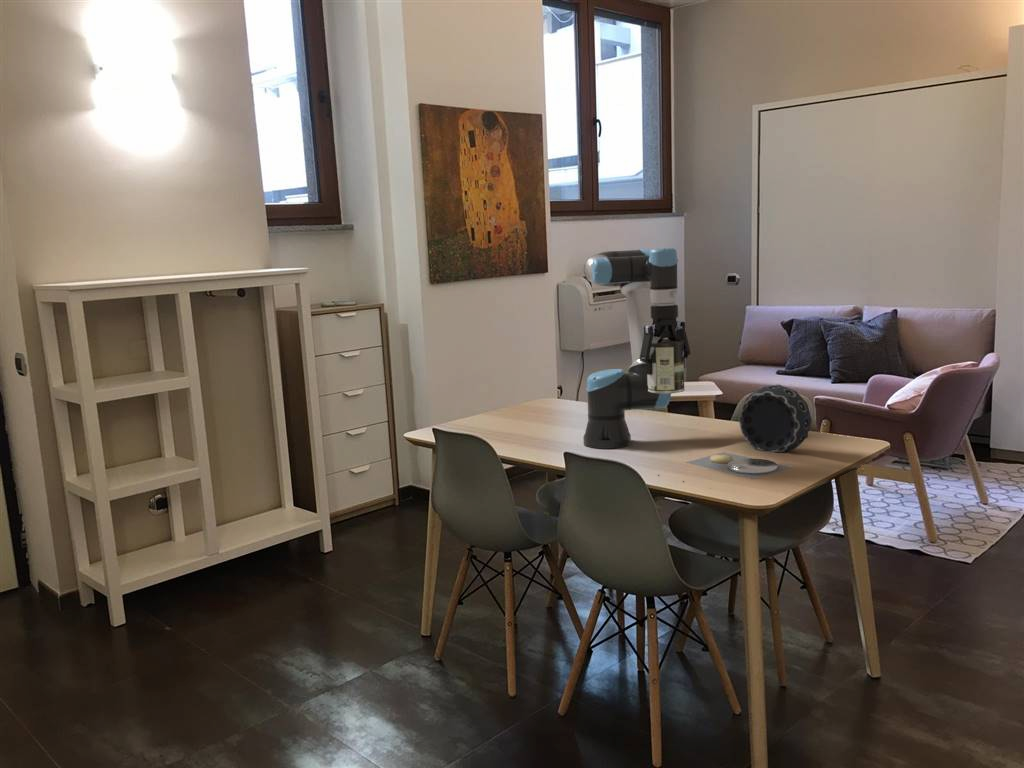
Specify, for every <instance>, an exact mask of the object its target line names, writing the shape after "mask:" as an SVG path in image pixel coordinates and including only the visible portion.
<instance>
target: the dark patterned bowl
mask: <svg viewBox="0 0 1024 768" xmlns="http://www.w3.org/2000/svg"><path fill="white" fill-rule="evenodd" d="M738 418H739V422H738V423H739V428H740V431H741V433H742V435H743V438H745V440H746V441H747V442H748V444H749V445H750V446H752V447H753V448H754V449H756V450H757V451H760V452H769V453H770V452H771V453H785V452H786V453H787V452H790V451H793V450H795V449H797V448H798V447H799V446H800V445H802V443H803V442H804V441H805V440H806V439H808V436H809V432H810V430H811V424H812V423H813V419H812V417H811V411H810V409H809V403H808V402H807V401H806V400H805V398H803V397H802V396H801V395H800V394H799V392H798V391H797V390H796V389H792V388H790V387H787V386H784V385H781V384H774V385H767V386H762V387H760V388H758V389H757V390H755V391H753V392H751V393H750V394H749V395H748V397H746V399H745V400H744V401H743V404H742V406H741V408H740V411H739V417H738Z"/></svg>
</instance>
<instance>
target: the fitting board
mask: <svg viewBox="0 0 1024 768" xmlns="http://www.w3.org/2000/svg"><path fill="white" fill-rule="evenodd" d="M749 458H750V457H747V456H743V455H738V454H734V453H730V452H725V451H723V452H719V453H716V454H713V455H709V456H704V457H700V458H697V459H693V460H689V461H685V463H686V464H690V465H694V466H699V467H702V468H706V469H711V470H714V471H719V472H722V473H727V474H732V475H735V476H738V477H739V476H740V477H743V478H747V479H753V480H755V479H759V478H761V477H765V476H768V475H769V476H770V475H773V474H775V473H779V472H782V471H785V470H789V469H792V468H793V467H792V466H789V465H785V464H779V463H776V464H777V471H775V472H772V473H768V474H760V475H750V474H740V473H735V472H732V471H730V470H729V469H728V463H729V462H730V461H733V460H738V459H749ZM751 458H752V459H754V458H753V457H751Z"/></svg>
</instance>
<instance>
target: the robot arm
mask: <svg viewBox="0 0 1024 768" xmlns="http://www.w3.org/2000/svg"><path fill="white" fill-rule="evenodd" d="M677 255H678V253H677V250H676V248H674V247H666V248H664V247H663V248H652V249H640V248H639V249H633V250H616V251H615V250H612V251H604V252H603V251H602V252H600V253H597V254H594V255H592V256H590V257H589V258H588V259H587V260H586V261H585V263H584V265H583V266H584V267H583V273H584V274H583V275H584V277H585V279H586V280H587V281H588V282H589V283H591V284H593V285H596V286H601V287H609V288H610V287H620V288H619V289H620V293H621V294H623V296H625V299H626V311H627V321H628V332H629V340H630V352H631V362H632V363H631V365H630V366H629V367H628V373H625V371H624V369H622V368H614V369H613V368H611V369H604V370H598V371H596V372H593V373H591V374H590V375H589V376H587V380H586V393H587V419H588V420H587V423H586V427H585V428H586V429H585V432H584V435H583V445H584V446H585V447H588V448H595V449H616V448H618V449H619V448H623V447H627V446H629V445H631V443H632V436H631V433H630V430H629V428H628V424H627V422H626V417H625V414H626V413H625V411H630V410H631V411H633V410H635V411H636V410H656V409H664V408H666V407H667V406H669V403H670V401H671V395H672V393H669V394H658V393H651V392H649V391H648V386H654V387H655V386H656V363H653V361H654V359H655V356H656V353H655V348H651V345H652V343H661V341H663V339H669V340H671V341H679V340H683V341H684V343H683V351H684V370H685V367H686V363H685V362H686V359H687V358H688V356H690V355H691V348H690V345H689V342H688V336H687V331H686V322H685V321H677V318H678V317H679V306H678V304H677V303H678V301H679V295H678V293H679V292H678V262H679V260H678V256H677Z"/></svg>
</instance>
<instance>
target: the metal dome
mask: <svg viewBox="0 0 1024 768" xmlns="http://www.w3.org/2000/svg"><path fill="white" fill-rule="evenodd" d="M748 458H749V459H738V460H733V461H730V462H729V463H728V469H729V470H730V471H732V472H735V473H740V474H750V475H760V474H768V473H772V472H775V471H777V464H778V463H776V462H775V461H773V460H769V459H764V458H753V457H748ZM752 458H753V459H752ZM772 474H773V473H772Z"/></svg>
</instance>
